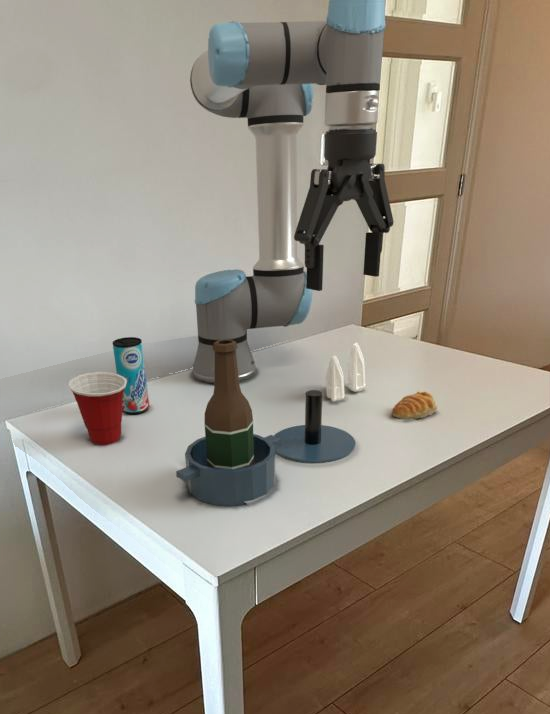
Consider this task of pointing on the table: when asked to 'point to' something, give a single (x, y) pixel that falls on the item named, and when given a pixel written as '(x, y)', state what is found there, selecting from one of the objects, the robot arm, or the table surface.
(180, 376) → the table surface
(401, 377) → the table surface
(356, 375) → the shaker set
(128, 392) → the beverage can
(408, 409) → the pastry
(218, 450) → the beer bottle
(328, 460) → the lid
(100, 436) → the plastic cup
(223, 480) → the pot
